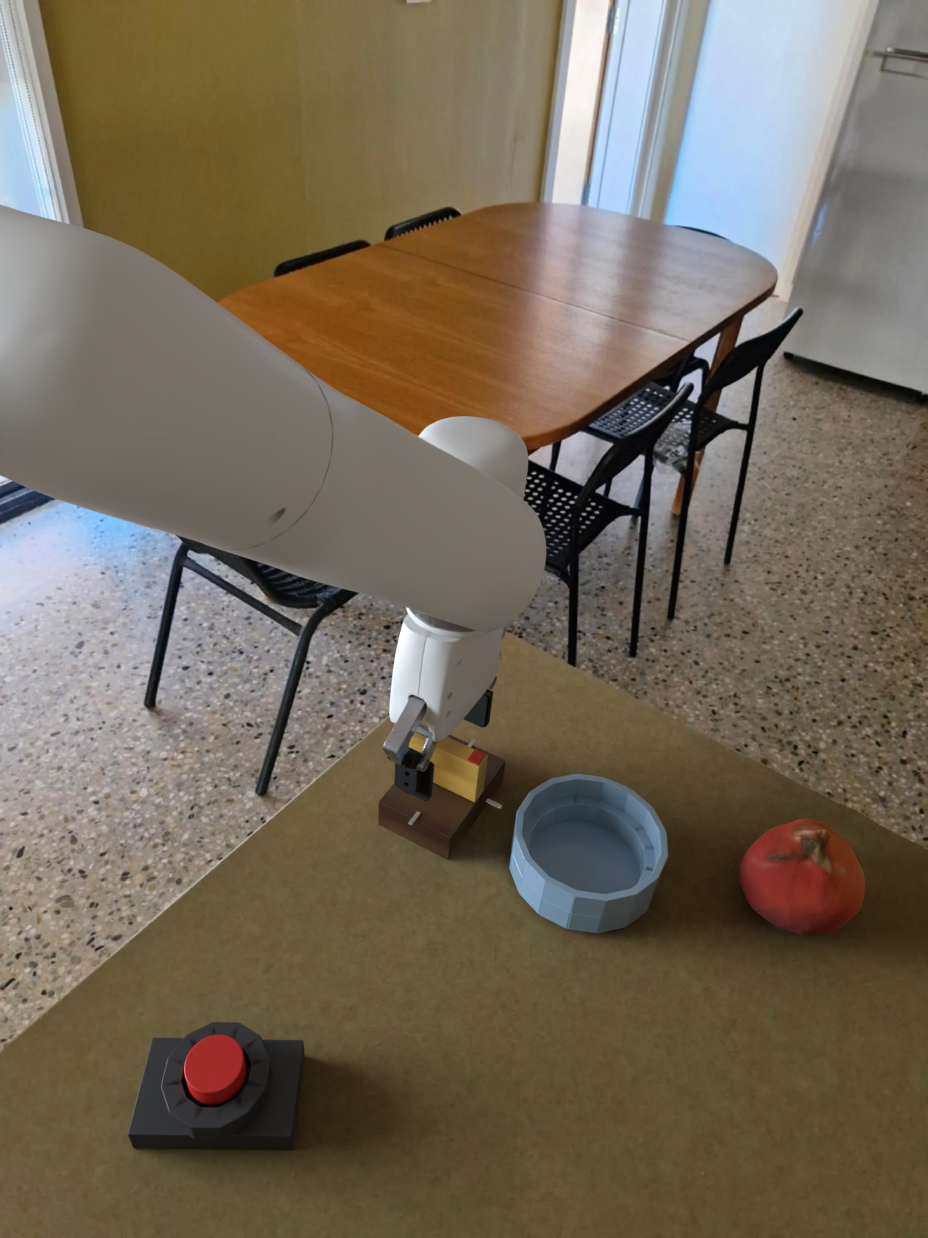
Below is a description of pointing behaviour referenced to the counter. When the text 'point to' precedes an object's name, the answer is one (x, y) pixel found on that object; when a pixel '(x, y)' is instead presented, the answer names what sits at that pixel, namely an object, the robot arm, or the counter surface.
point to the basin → (587, 853)
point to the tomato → (803, 878)
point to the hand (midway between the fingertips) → (443, 754)
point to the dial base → (439, 810)
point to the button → (215, 1069)
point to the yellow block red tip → (456, 766)
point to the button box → (237, 1124)
